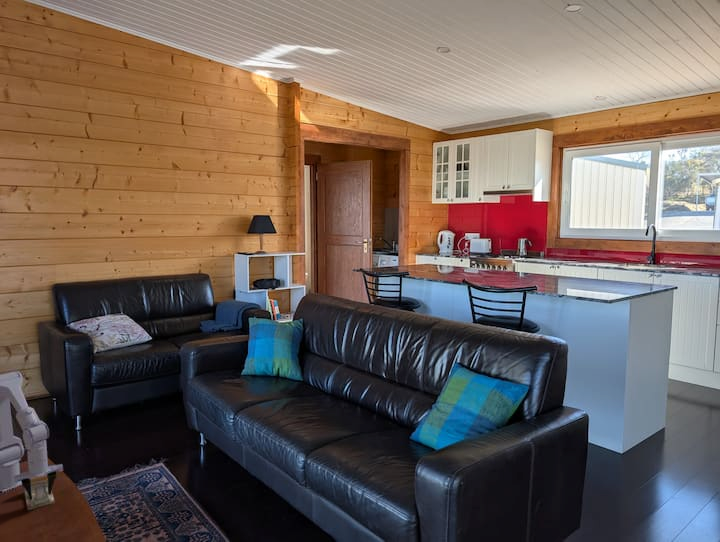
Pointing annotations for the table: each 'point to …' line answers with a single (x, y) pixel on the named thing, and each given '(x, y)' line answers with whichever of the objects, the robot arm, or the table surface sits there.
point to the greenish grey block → (40, 495)
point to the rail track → (31, 502)
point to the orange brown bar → (38, 478)
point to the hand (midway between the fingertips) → (40, 495)
